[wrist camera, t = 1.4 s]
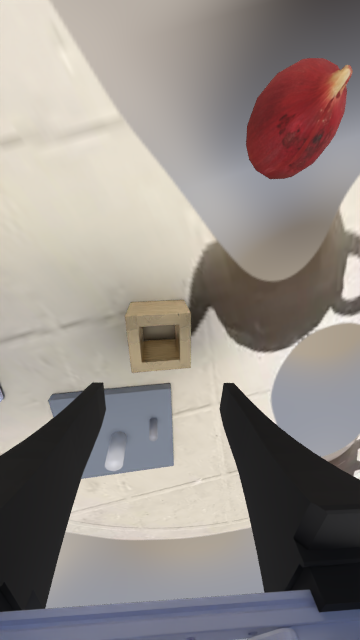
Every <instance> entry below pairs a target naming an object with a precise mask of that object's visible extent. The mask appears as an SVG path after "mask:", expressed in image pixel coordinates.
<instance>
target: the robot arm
mask: <svg viewBox="0 0 360 640" xmlns="http://www.w3.org/2000/svg"><path fill="white" fill-rule="evenodd" d="M3 398H4V397H3V395H2V392H1V390H0V402H1V401H2V400H3ZM105 412H106V403H105V394H104V386H103V383H92V384H90V385H89V386H88V387H87V388H86V389H85V390H84V391H83V392H82V393H81V394H80V395H79V396H78V397H76V398H75V399H74V400H73V401H72V402H71V403H70V404H69V405H68V406H67V407H65V408H64V409H63V410H62V411H61V412H60V413H59V414H57V415H56V416H55V417H54V418H53V419H51V420H50V421H49V422H48V423H47V424H45V425H44V426H43V427H41V428H40V429H39V430H38V431H36V432H35V433H33V434H32V435H31V436H29V437H28V438H27V439H25V440H24V441H22V442H21V443H19V444H18V445H16V446H15V447H13V448H12V449H10V450H9V451H7V452H6V453H4V454H2V455H1V456H0V640H235V639H246V638H249V639H247V640H360V480H359V479H357V478H355V477H353V476H352V475H350V474H348V473H346V472H344V471H343V470H341V469H339V468H337V467H336V466H334V465H333V464H331V463H329V462H328V461H326V460H324V459H323V458H321V457H320V456H318V455H317V454H315V453H313V452H312V451H311V450H309V449H308V448H306V447H305V446H303V445H302V444H300V443H299V442H297V441H296V440H295V439H294V438H292V437H291V436H290V435H288V434H287V433H286V432H285V431H283V430H282V429H281V428H279V427H278V426H277V425H276V424H275V423H274V422H272V421H271V420H270V419H269V418H268V417H267V416H266V415H265V414H264V413H262V412H261V411H260V410H259V409H258V408H257V407H256V406H255V405H254V404H253V403H252V402H251V401H250V400H249V399H248V398H247V397H246V396H245V395H244V394H243V392H242V391H241V390H240V389H239V388H238V387H237V386H236V385H235V384H234V383H224V385H223V391H222V398H221V404H220V413H221V418H222V422H223V427H224V430H225V433H226V436H227V439H228V442H229V445H230V448H231V451H232V453H233V456H234V459H235V462H236V465H237V469H238V472H239V475H240V479H241V483H242V488H243V492H244V496H245V500H246V504H247V509H248V513H249V517H250V522H251V527H252V531H253V536H254V540H255V546H256V550H257V555H258V561H259V566H260V570H261V576H262V581H263V586H264V592H265V593H255V594H242V595H228V596H215V597H201V598H186V599H173V600H159V601H146V602H132V603H119V604H104V605H91V606H78V607H63V608H49V609H45V607H46V603H47V599H48V595H49V591H50V587H51V583H52V579H53V575H54V571H55V567H56V564H57V560H58V556H59V552H60V549H61V545H62V542H63V538H64V534H65V531H66V527H67V524H68V520H69V517H70V513H71V510H72V507H73V503H74V500H75V497H76V493H77V490H78V487H79V484H80V481H81V478H82V475H83V472H84V469H85V467H86V464H87V462H88V459H89V457H90V455H91V452H92V450H93V447H94V445H95V442H96V440H97V437H98V435H99V432H100V429H101V427H102V423H103V420H104V416H105Z"/></svg>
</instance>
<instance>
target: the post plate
mask: <svg viewBox="0 0 360 640" xmlns="http://www.w3.org/2000/svg"><path fill="white" fill-rule="evenodd" d="M81 393H82V392H72V393H62V394H52V396H51V397H50V399H49V400H48V401H49V405H50V408H51V411H52V414H53V417H55V416H56V415H57V414H59V413H60V412H61V411H62V410H63V409H64V408H65V407H67V406H68V405H69V404H70V403H71V402H72V401H73V400H74V399H75V398H76V397H78V396H79V395H80V394H81ZM104 394H105V403H106V412H105V416H104V420H103V423H102V427H101V429H100V432H99V435H98V437H97V440H96V442H95V445H94V447H93V450H92V452H91V455H90V457H89V459H88V462H87V464H86V467H85V469H84V472H83V475H82V478H81V479H83V478H90V477H97V476H104V475H111V474H119V473H126V472H133V471H140V470H147V469H154V468H161V467H168V466H174V461H173V435H172V408H171V386H170V383H168V384H157V385H147V386H136V387H125V388H115V389H104Z"/></svg>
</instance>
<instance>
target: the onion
mask: <svg viewBox="0 0 360 640" xmlns="http://www.w3.org/2000/svg"><path fill="white" fill-rule="evenodd" d="M351 75H352V69H351V66H349V65H346V66H345V67H343V68H342V69H341V70H340V69H339V68H338V66H337V65H335V64H333V63H331V62H330V61H328V60H326V59H323V58H321V59H319V58H308V59H302V60H300V61H299V62H297V63H295V64H294V65H292V66H290V67H288V68H286V69H285V70H283V71H281V72H279V73H278V74H277V75H276V76H275V77H274V78H273V79H272V80H271V82H270V83H269V84H268V85H267V87H266V88H265V89H264V91H263V92H262V93H261V94H260V96H259V97H258V98H257V100H256V103H255V106H254V108H253V111H252V114H251V117H250V120H249V122H248V126H247V140H246V146H247V151H248V156H249V160H250V161H251V163H252V165H253V166H254V168H255V169H256V170H257V171H258V172H260V173H261V174H263V175H265V176H266V177H268V178H269V179H284V178H288V177H292V176H294V175H295V174H297V173H298V172H300V171H302V170H303V169H305V168H307V167H308V166H309V165H311V164H313V163H314V162H315V160H316V159H317V158H318V157H319V156H320V154H321V153H322V152H323V151H324V149H325V148H326V147H327V146H328V144H329V143H330V142H331V140H332V139H333V137H334V135H335V134H336V131H337V129H338V127H339V124H340V122H341V119H342V117H343V114H344V111H345V104H346V94H347V89H346V84H347V82H348V81H349V79H350V77H351Z"/></svg>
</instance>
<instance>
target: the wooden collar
mask: <svg viewBox="0 0 360 640" xmlns="http://www.w3.org/2000/svg"><path fill="white" fill-rule="evenodd" d="M125 321H126V330H127V338H128V346H129V354H130V363H131V371H132V373H135V372H146V371H158V370H170V369H181V368H191V312H190V310H189V309H188V307H187V305H186V303H185V302H184V300H169V301H148V302H131V303H130V305H129V308H128V310H127V313H126V315H125ZM161 325H175V339H165V340H150V341H144V337H143V327H144V326H161Z"/></svg>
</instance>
